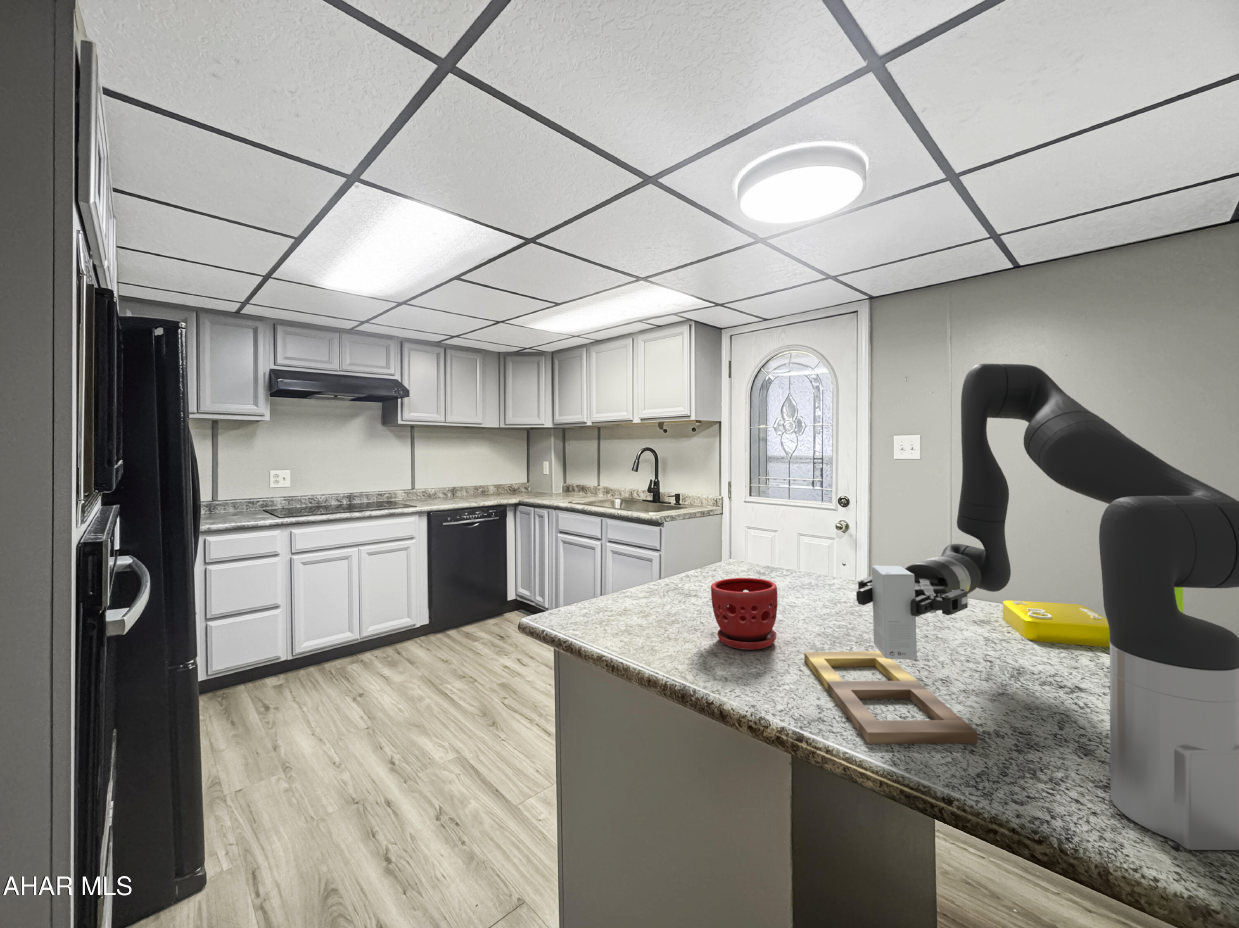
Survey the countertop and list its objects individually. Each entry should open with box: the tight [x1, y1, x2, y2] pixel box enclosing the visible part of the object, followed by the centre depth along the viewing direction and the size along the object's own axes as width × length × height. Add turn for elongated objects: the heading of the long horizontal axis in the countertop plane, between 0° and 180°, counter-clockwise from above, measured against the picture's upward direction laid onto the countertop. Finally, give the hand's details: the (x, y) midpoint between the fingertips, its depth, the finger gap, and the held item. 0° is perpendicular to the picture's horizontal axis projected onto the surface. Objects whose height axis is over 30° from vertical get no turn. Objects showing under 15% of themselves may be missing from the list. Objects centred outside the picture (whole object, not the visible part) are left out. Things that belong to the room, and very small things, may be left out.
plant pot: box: [710, 577, 778, 651], centre depth 105 cm, size 13×13×12 cm
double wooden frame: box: [803, 650, 979, 745], centre depth 81 cm, size 27×14×2 cm, turn 177°
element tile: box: [1002, 599, 1110, 648], centre depth 105 cm, size 15×15×5 cm
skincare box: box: [871, 565, 918, 661], centre depth 74 cm, size 6×4×12 cm
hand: (885, 603), depth 73 cm, fingers closed on skincare box, 7 cm apart
